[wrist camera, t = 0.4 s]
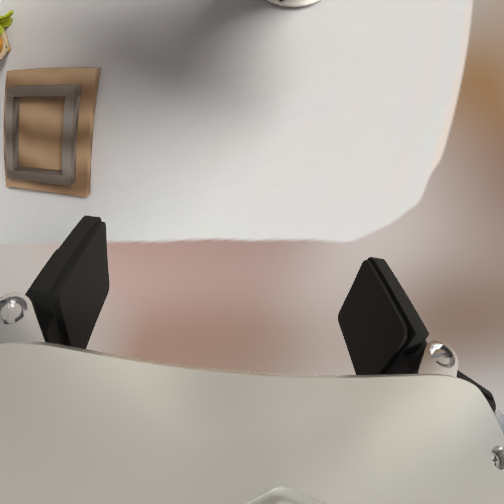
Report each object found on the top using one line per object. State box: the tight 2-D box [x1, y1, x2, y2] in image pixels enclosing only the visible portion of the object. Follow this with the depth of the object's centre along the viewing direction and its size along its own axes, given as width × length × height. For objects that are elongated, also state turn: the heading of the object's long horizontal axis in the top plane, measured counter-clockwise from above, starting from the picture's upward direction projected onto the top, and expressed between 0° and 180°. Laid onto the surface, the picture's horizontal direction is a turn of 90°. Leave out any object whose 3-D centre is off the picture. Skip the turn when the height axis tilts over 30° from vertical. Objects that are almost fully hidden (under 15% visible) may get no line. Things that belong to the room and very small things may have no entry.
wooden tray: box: [4, 68, 100, 197], centre depth 38 cm, size 20×17×4 cm
